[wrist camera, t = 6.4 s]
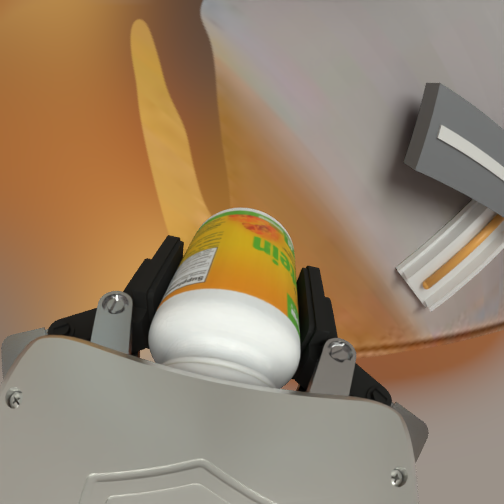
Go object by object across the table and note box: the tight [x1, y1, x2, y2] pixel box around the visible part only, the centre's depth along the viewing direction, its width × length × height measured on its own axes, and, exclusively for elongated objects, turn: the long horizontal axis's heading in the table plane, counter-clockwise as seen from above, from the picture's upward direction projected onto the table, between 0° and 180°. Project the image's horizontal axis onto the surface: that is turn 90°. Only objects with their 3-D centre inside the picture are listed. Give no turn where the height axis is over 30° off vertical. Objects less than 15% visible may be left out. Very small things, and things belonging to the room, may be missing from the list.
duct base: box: [396, 199, 504, 311], centre depth 25 cm, size 22×9×2 cm, turn 138°
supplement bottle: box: [148, 208, 300, 389], centre depth 11 cm, size 5×5×10 cm
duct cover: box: [404, 83, 504, 217], centre depth 17 cm, size 22×8×3 cm, turn 78°
